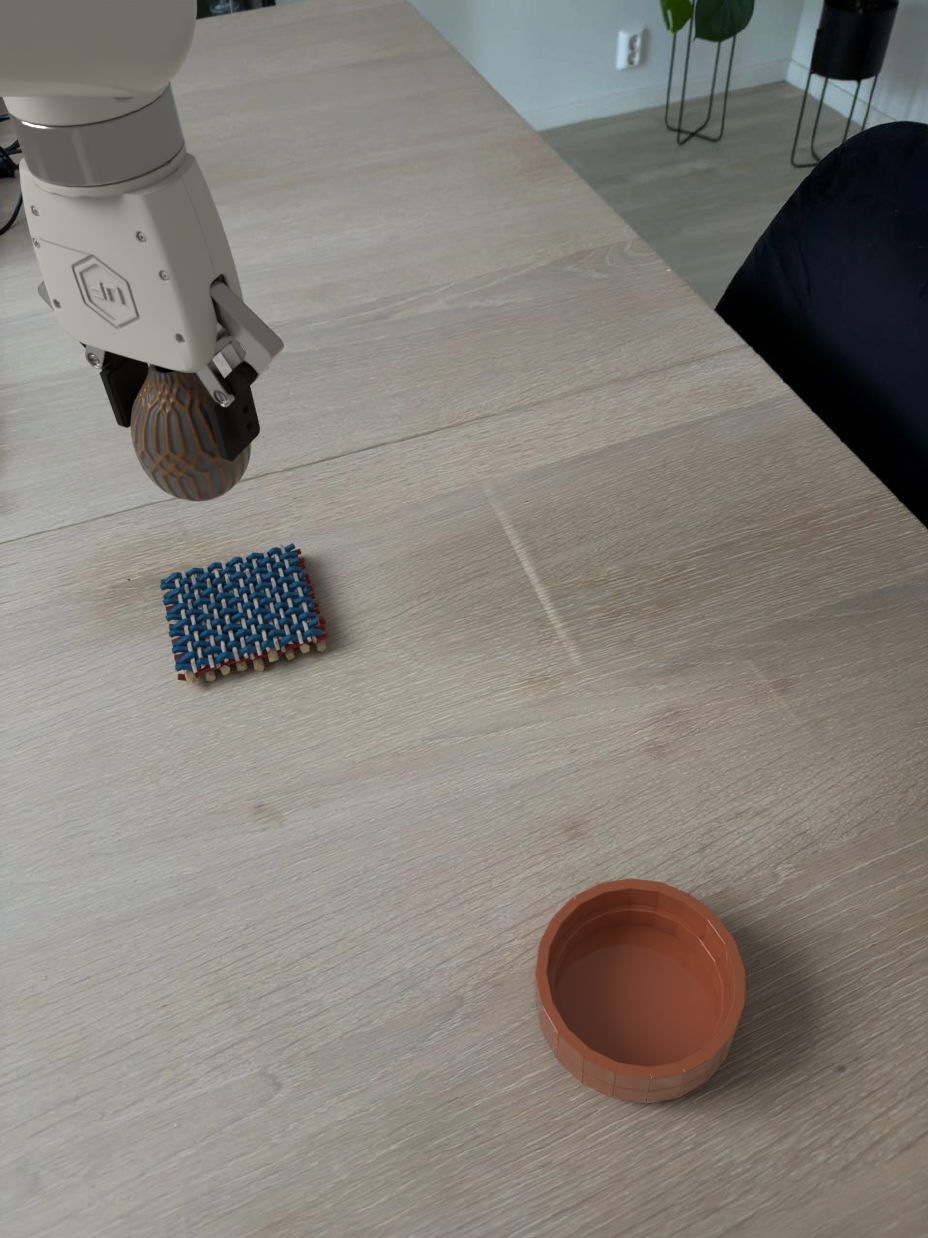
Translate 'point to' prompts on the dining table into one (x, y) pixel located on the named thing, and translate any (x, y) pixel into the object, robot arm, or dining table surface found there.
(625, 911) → the bowl
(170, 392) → the vase
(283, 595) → the woven mat
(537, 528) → the dining table surface
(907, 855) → the dining table surface
